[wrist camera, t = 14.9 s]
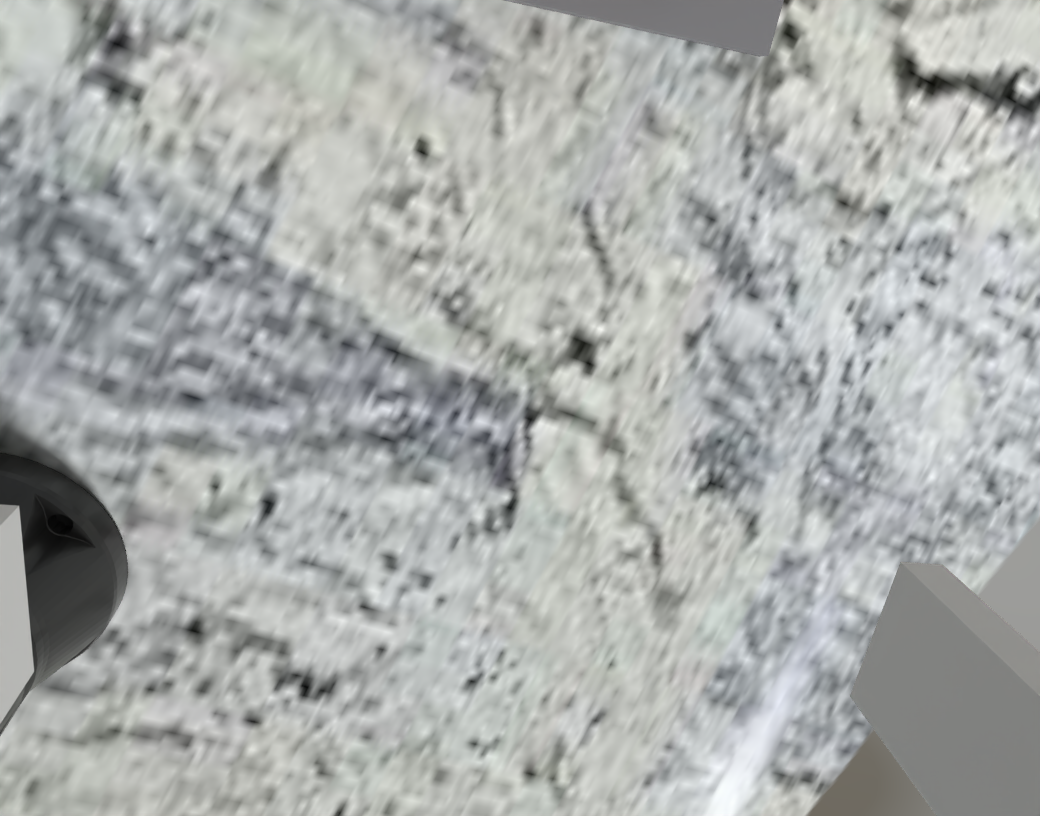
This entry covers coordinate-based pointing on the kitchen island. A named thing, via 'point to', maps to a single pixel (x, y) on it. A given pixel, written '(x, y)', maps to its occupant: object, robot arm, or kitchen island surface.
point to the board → (684, 19)
